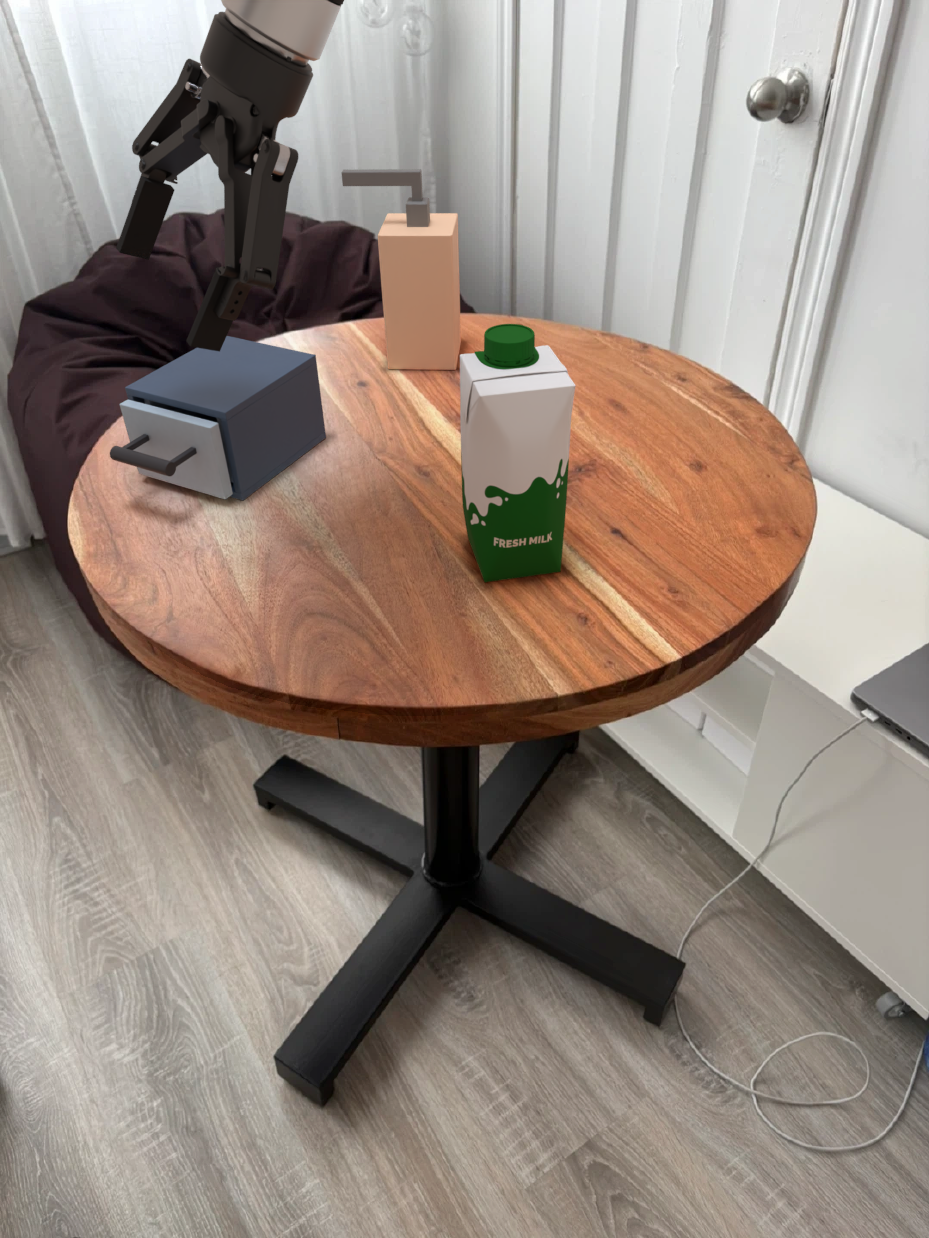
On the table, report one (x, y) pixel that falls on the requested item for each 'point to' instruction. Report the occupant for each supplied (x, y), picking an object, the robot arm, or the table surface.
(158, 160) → the robot arm
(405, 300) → the soap dispenser
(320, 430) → the blue drawer cabinet
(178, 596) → the table surface
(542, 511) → the milk carton
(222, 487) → the drawer
